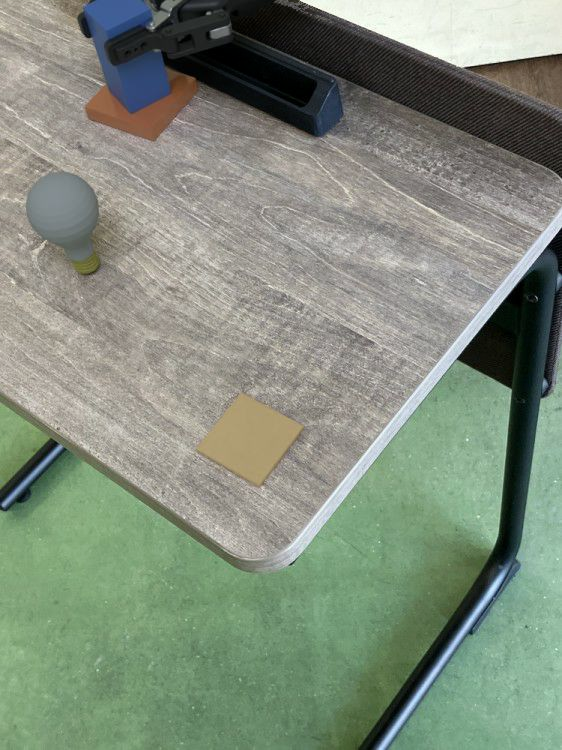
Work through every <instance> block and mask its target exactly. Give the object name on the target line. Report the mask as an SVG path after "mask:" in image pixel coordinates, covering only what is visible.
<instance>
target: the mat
mask: <svg viewBox="0 0 562 750" xmlns="http://www.w3.org/2000/svg"><path fill="white" fill-rule="evenodd" d="M304 429H305V426H304V425H303V424H302V423H299V422H297V421H295V420H293V419H292V418H290V417H288V416H287V415H285V414H283V413H281V412H279V411H277V410H275V409H273V408H271V407H269V406H267V405H265V404H264V403H262V402H260V401H258V400H256V399H254V398H252V397H251V396H249V395H247V394H245V393H243V392H240V393H239V394H238V396H236V398H235V400H233V401H232V403H231V405H229V407H228V408H227V410H225V412H224V413H223V414H222V415H221V417H220V418H219V420H217V422H216V423H215V424H214V426H213V427H212V428H211V429H210V430H209V432H208V433H207V434H206V435H205V436H204V438H203V439H202V440H201V441H200V443H198V446H197V447H195V450H196V452H197V453H198V454H200V455H202V456H204V457H206V458H207V459H209V460H210V461H213V462H214V463H216V464H217V465H220V466H221V467H222V468H225V469H226V470H228V471H230V472H231V473H233V474H235V475H236V476H238V477H240V478H242V479H243V480H245V481H247V482H249V483H251V484H252V485H254V486H256V487H257V488H261V487H262V485H263V484H264V482H266V480H267V479H268V477H269V476H270V475H271V473H272V472H273V471H274V469H275V468H276V466H278V465H279V463H280V461H281V460H282V459H283V457H284V456H285V455H286V453H287V452H288V451H289V450H290V448H291V447H292V445H293V444H294V443H295V442H296V440H297V439H298V437H300V435H301V433H303V431H304Z"/></svg>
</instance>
